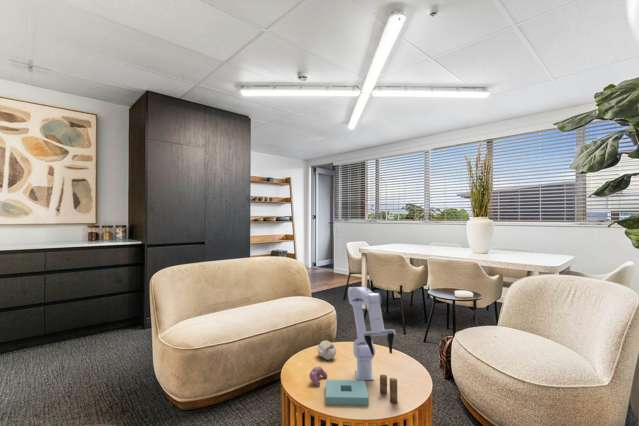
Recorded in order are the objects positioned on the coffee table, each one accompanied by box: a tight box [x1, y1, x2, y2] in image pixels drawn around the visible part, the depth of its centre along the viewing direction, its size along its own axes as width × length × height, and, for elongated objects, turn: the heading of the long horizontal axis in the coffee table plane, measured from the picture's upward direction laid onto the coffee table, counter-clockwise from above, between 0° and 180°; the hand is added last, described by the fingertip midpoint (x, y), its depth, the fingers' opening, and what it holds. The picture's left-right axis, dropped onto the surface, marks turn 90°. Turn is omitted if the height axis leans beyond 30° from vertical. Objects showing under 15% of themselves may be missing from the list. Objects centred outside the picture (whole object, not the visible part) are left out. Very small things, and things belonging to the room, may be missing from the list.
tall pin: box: [389, 377, 399, 404], centre depth 127 cm, size 3×3×9 cm
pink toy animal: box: [308, 366, 328, 387], centre depth 144 cm, size 10×5×7 cm, turn 154°
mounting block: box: [325, 379, 370, 406], centre depth 132 cm, size 14×18×3 cm
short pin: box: [379, 374, 388, 395], centre depth 134 cm, size 3×3×7 cm
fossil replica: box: [316, 339, 337, 361], centre depth 170 cm, size 12×8×10 cm
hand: (381, 354), depth 125 cm, fingers open, 7 cm apart
